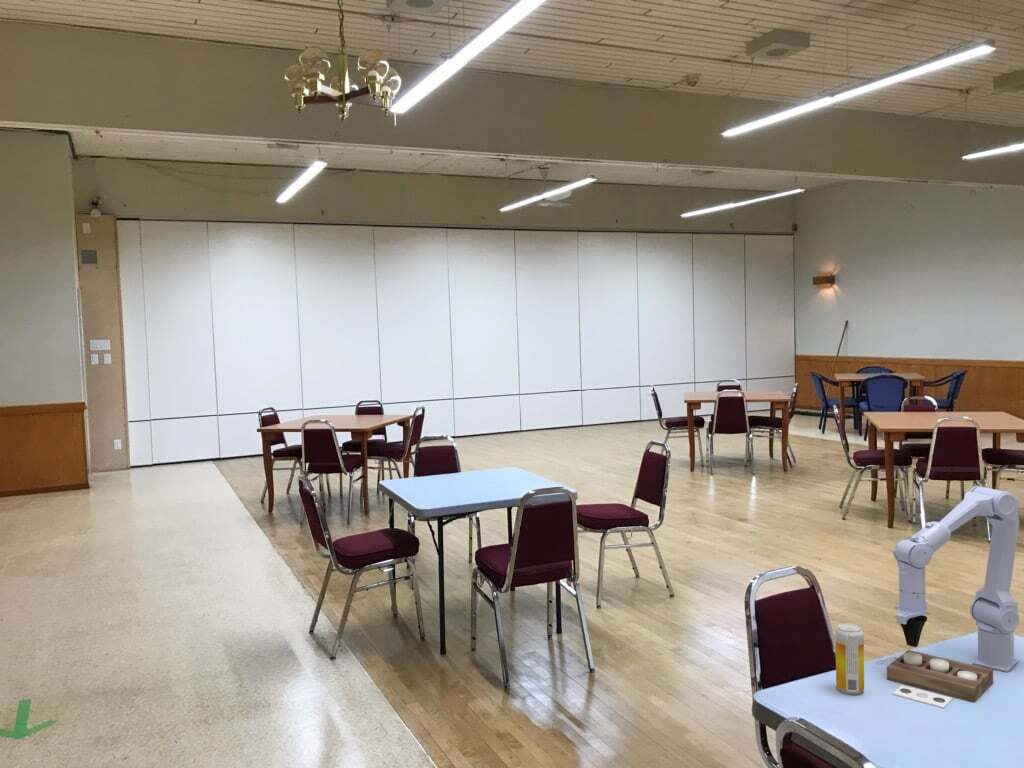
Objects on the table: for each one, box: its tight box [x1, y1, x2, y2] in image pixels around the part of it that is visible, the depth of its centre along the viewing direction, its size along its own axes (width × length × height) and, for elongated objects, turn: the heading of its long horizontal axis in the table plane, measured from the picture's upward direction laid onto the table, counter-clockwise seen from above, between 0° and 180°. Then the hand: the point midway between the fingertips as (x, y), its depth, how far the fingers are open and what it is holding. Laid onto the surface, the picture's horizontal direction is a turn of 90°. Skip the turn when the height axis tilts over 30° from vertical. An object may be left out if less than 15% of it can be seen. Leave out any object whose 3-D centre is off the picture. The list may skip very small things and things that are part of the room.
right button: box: [957, 671, 977, 681], centre depth 188 cm, size 4×4×2 cm
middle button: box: [930, 659, 949, 674], centre depth 192 cm, size 4×4×2 cm
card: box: [891, 684, 954, 709], centre depth 184 cm, size 6×11×1 cm, turn 44°
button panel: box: [886, 649, 994, 703], centre depth 192 cm, size 14×19×3 cm
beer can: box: [835, 622, 865, 696], centre depth 188 cm, size 6×6×15 cm
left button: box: [903, 652, 922, 667], centre depth 196 cm, size 4×4×2 cm
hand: (912, 645), depth 196 cm, fingers closed
